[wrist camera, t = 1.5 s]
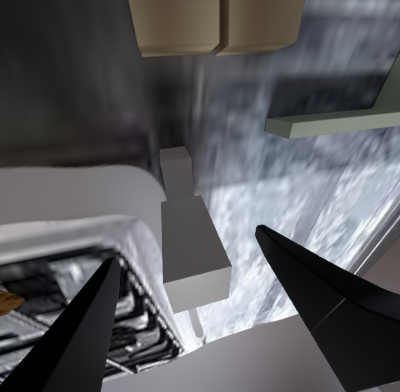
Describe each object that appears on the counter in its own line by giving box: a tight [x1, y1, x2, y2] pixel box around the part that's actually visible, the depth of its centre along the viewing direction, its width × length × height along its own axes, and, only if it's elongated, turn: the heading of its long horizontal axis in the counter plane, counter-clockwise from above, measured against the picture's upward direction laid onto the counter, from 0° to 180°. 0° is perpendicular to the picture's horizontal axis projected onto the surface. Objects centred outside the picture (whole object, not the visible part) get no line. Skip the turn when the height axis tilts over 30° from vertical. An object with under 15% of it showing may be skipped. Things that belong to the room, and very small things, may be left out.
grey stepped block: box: [160, 146, 232, 314], centre depth 11 cm, size 3×9×9 cm, turn 3°
